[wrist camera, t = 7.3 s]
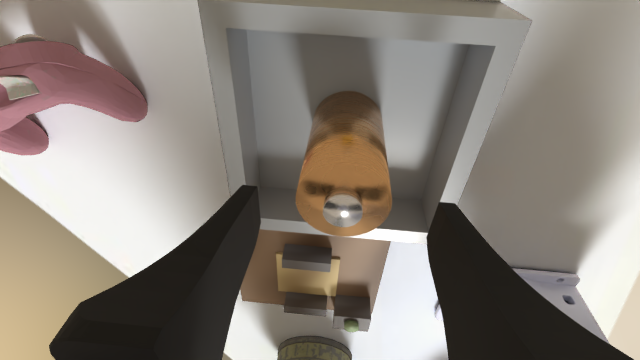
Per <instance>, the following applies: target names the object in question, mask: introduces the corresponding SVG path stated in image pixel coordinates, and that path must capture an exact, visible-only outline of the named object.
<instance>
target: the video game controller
mask: <svg viewBox="0 0 640 360" xmlns="http://www.w3.org/2000/svg"><path fill="white" fill-rule="evenodd" d="M69 103H71V104H75V105H80V106H84V107H87V108H90V109H93V110H96V111H99V112H102V113H104V114H107V115H109V116H112V117H114V118H117V119H119V120H122V121H130V122H138V121H140V120H142V119H143V118H144V117H145V116H146V115H147V102H146V100H145V98H144V97H143V95H142V94H141V92H140V91H139V90H138V89H137V88H136V87H135V86H134V85H133V84H132V83H131V82H130V81H129V80H128V79H127V78H125V77H124V76H123V75H122V74H120V73H119V72H117V71H116V70H114V69H113V68H111V67H109V66H107V65H105V64H103V63H102V62H100V61H98V60H96V59H93V58H91V57H89V56H86V55H84V54H82V53H79V51H78V50H77V49H76V48H75V47H74V46H72V45H69V44H65V43H60V42H53V41H47V39H45V38H43V37H40V36H37V35H33V34H28V35H23V36H21V37H18V38H17V39H15V44H9V45H6V46H2V47H0V150H2V151H5V152H9V153H13V154H18V155H36V154H40V153H42V152H43V151H45V150H46V149H47V148H48V144H49V138H48V137H47V135H46V133H45V132H44V131H43V130H42V128H41V127H39V126H38V125H37V124H36V123H34V122H33V121H31V120H30V119H28V118H26V116H27V115H30V114H33V113H37V112H40V111H43V110H45V109H48V108H51V107H53V106H56V105H58V104H69Z"/></svg>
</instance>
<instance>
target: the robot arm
mask: <svg viewBox="0 0 640 360" xmlns="http://www.w3.org/2000/svg"><path fill="white" fill-rule="evenodd" d="M260 225H261V217H260V207H259V197H258V187H257V186H250V185H242V186H240V187H239V189H238V190H237V191H236V192H235V193H234V194H233V195H232V196H231V197H230V198H229V199H228V201H227V202H226V203H225V204H224V205H223V206H222V207H221V208H220V209H219V210H218V211H217V212H216V213H215V214H214V215H213V216H212V217H211V218H210V219H209V220H208V221H207V222H206V223H204V224H203V225H202V226H201V227H200V228H199V229H198V230H197V231H196V232H194V233H193V234H192V235H191V236H190V237H189V238H187V239H186V240H185V241H184V242H182V243H181V244H180V245H179V246H177V247H176V248H175V249H173V250H172V251H171V252H169V253H168V254H166V255H165V256H164V257H162V258H161V259H159V260H158V261H156V262H155V263H153V264H152V265H150V266H149V267H147V268H145V269H144V270H142V271H140V272H139V273H137V274H135V275H134V276H132V277H130V278H128V279H126V280H125V281H123V282H121V283H119V284H117V285H115V286H114V287H112V288H110V289H108V290H105V291H103V292H101V293H99V294H97V295H96V296H93V297H91V298H89V299H87V300H85V301H83V302H81V303H80V304H79V305H78V306H77V307H76V309H75V310H74V311H73V312H72V314H71V315H70V316H69V318H68V319H67V321H66V322H65V324H64V325H63V326H62V328H61V329H60V331H59V332H58V333H57V335H56V336H55V338H54V339H53V341H52V342H51V343H50V345H49V348H50V352H51V355H52V356H53V357H54V358H55V360H222V356H223V351H224V347H225V343H226V339H227V334H228V330H229V326H230V322H231V318H232V314H233V310H234V306H235V302H236V299H237V296H238V293H239V290H240V287H241V285H242V282H243V279H244V276H245V274H246V271H247V268H248V265H249V263H250V260H251V257H252V254H253V252H254V249H255V246H256V242H257V238H258V234H259V229H260ZM426 238H427V249H428V257H429V263H430V268H431V272H432V276H433V280H434V284H435V288H436V292H437V296H438V300H439V305H438V308H437V310H436V312H435V318H436V319H438V320H443V322H444V328H445V335H446V342H447V349H448V358H449V360H634V359H632V358H631V357H629V356H627V355H626V354H624V353H623V352H621V351H619V350H618V349H616V348H615V347H613V346H611V345H610V344H609V342H608V340H607V339H606V337H605V335H604V334H603V332H602V330H601V329H600V327H599V325H598V323H597V322H596V320H595V318H594V317H593V315H592V313H591V312H590V310H589V308H588V307H587V305H586V303H585V302H584V300H583V298H582V297H581V295H580V293H579V292H578V290H577V288H576V287H575V286H576V285H577V284H578V283H579V281H580V278H579V277H578V275H576V274H569V273H559V272H548V271H537V270H526V269H515V268H511V267H510V266H509V265H508V264H507V263H506V262H505V261H504V260H503V259H502V258H501V257H500V256H499V255H498V254H497V253H496V252H495V251H494V249H493V248H492V247H491V246H490V245H489V244H488V243H487V242H486V241H485V239H484V238H483V237H482V236H481V235H480V234H479V232H478V231H477V230H476V229H475V228H474V226H473V225H472V224H471V223H470V221H469V220H468V219H467V218H466V216H465V215H464V214H463V213H462V211H461V210H460V209H459V208H458V207H457V205H456V204H455V203H446V202H439V203H438V206H437V209H436V212H435V215H434V217H433V220H432V223H431V226H430V229H429V231H428V234H427V237H426Z"/></svg>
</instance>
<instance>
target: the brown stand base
mask: <svg viewBox="0 0 640 360" xmlns="http://www.w3.org/2000/svg"><path fill="white" fill-rule="evenodd" d="M390 242H391V241H386V240H375V239H364V238H353V237H342V236H330V235H319V234H308V233H297V232H286V231H275V230H264V229H259V234H258V238H257V242H256V246H255V249H254V252H253V254H252V257H251V260H250V263H249V265H248V268H247V271H246V274H245V276H244V279H243V282H242V285H241V287H240V290H241V295H242V301H250V302H260V303H270V304H280V305H284V312H287V313H297V314H307V315H317V316H326V309H331V310H334V318H333V328H337V329H345V330H346V331H348V332H356V331H367V332H368V329H369V325H370V321H371V314H372V311H373V307H374V303H375V300H376V296H377V292H378V288H379V284H380V280H381V277H382V273H383V269H384V265H385V261H386V257H387V253H388V250H389V246H390Z"/></svg>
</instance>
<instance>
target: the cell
mask: <svg viewBox="0 0 640 360" xmlns="http://www.w3.org/2000/svg"><path fill="white" fill-rule="evenodd" d="M296 206H297V209H298V212H299V213H300V215H301V216H302V218H303V219H304V220H305V221H306V222H307V223H308V224H309V225H310V226H312V227H313V228H315V229H317V230H319V231H321V232H323V233H326V234H330V235H334V236H343V237H348V236H357V235H361V234H365V233H367V232H370V231H372V230H374V229H376V228H377V227H378V226H380V225H381V224H382V223H383V222H384V221H385V220H386V218H387V217H388V215H389V213H390V211H391V207H392V195H391V187H390V179H389V170H388V162H387V154H386V146H385V138H384V130H383V121H382V115H381V112H380V110H379V107H378V106H377V104H376V103H375V102H374V101H373V100H372V99H371V98H369V97H368V96H366V95H364V94H362V93H359V92H355V91H341V92H337V93H334V94H332V95H330V96H328V97H327V98H325V99H324V100H323V101H322V102H321V103H320V104H319V106H318V107H317V109H316V111H315V114H314V118H313V122H312V126H311V131H310V135H309V139H308V144H307V148H306V152H305V157H304V161H303V165H302V170H301V174H300V178H299V183H298V187H297V191H296Z"/></svg>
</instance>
